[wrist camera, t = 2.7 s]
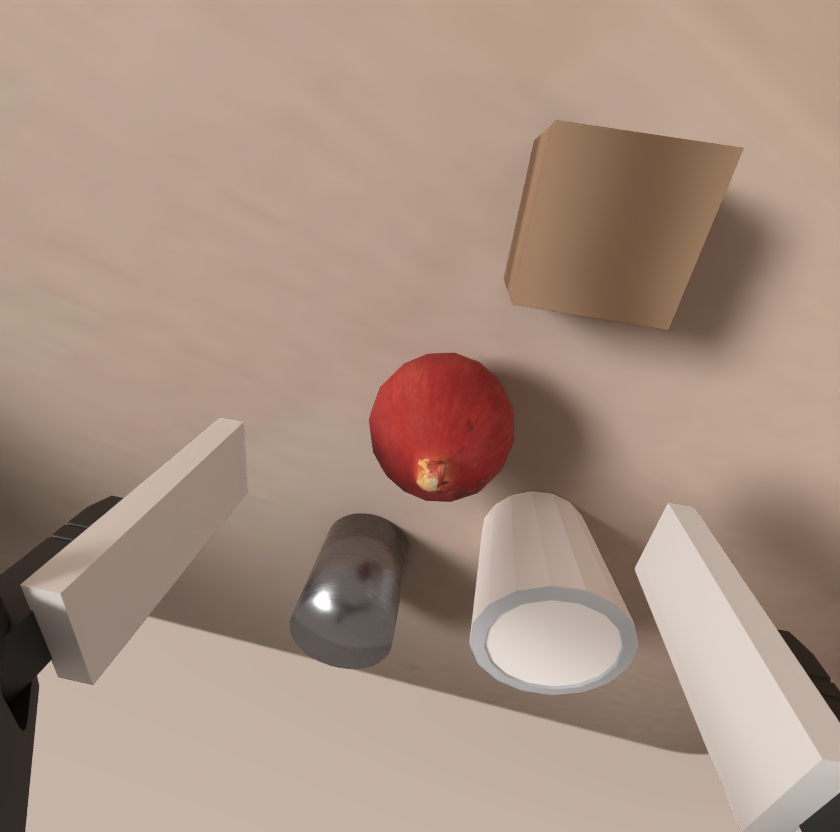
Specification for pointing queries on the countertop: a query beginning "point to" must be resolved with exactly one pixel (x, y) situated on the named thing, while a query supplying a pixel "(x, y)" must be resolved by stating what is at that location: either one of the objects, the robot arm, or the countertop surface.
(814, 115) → the countertop surface
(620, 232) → the walnut block
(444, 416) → the onion
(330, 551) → the metal tin
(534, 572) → the white short cylinder
